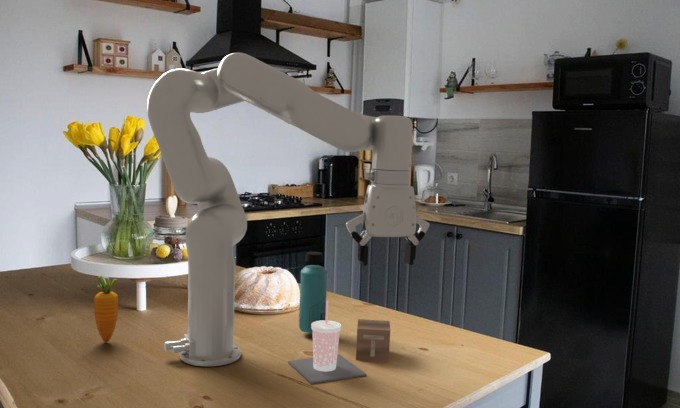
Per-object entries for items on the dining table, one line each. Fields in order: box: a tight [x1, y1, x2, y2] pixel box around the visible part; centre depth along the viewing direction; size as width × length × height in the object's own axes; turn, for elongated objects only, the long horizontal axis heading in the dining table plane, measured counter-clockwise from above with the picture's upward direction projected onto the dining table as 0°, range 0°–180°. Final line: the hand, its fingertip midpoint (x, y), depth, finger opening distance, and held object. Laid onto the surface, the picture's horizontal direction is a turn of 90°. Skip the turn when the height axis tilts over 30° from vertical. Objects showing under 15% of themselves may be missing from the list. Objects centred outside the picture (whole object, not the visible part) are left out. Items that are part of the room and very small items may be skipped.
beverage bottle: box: [298, 251, 328, 334], centre depth 151 cm, size 6×7×20 cm
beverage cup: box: [311, 299, 342, 372], centre depth 130 cm, size 6×6×14 cm
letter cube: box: [355, 318, 391, 363], centre depth 139 cm, size 7×7×7 cm
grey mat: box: [287, 353, 367, 385], centre depth 130 cm, size 12×12×1 cm
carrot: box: [93, 275, 119, 344], centre depth 140 cm, size 5×5×15 cm
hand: (386, 264), depth 128 cm, fingers open, 9 cm apart
